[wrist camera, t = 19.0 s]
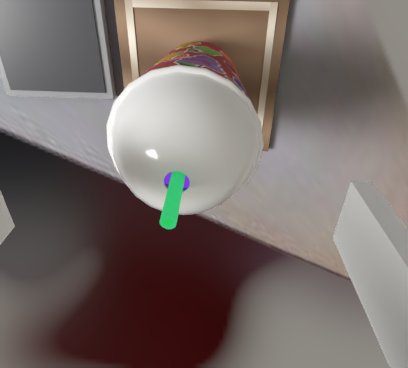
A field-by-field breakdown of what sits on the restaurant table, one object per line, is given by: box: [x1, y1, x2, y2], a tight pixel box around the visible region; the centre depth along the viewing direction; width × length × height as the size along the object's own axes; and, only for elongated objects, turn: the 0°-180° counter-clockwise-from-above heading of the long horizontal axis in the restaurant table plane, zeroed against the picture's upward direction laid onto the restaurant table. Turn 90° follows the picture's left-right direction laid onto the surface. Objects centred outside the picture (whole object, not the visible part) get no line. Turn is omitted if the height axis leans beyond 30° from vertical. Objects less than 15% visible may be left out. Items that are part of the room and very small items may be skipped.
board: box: [114, 0, 290, 151], centre depth 29 cm, size 14×14×1 cm
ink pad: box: [0, 0, 116, 99], centre depth 27 cm, size 10×10×1 cm
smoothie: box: [106, 41, 264, 229], centre depth 20 cm, size 8×8×20 cm
